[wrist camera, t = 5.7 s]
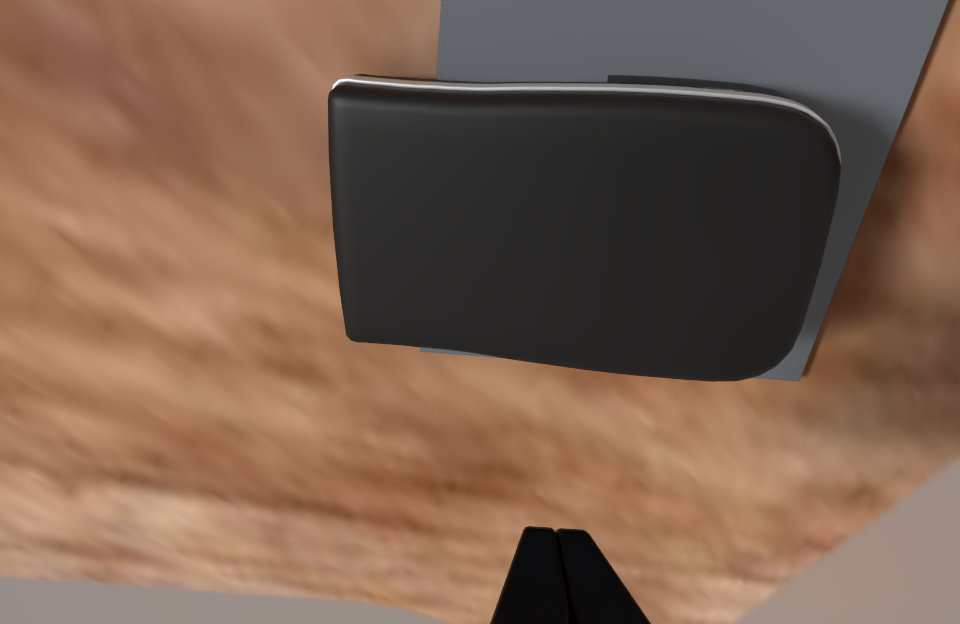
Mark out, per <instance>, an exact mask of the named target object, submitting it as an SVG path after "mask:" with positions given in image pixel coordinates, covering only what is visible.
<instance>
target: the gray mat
mask: <svg viewBox="0 0 960 624" xmlns="http://www.w3.org/2000/svg"><path fill="white" fill-rule="evenodd" d="M947 3H948V0H441V15H440V32H439V48H438V65H437V80H446V81H467V82H607V78H608V75H630V76H656V77H671V78H686V79H698V80H710V81H722V82H732V83H743V84H749V85H754V86H759V87H763V88H768V89H773V90H775V91H778V92H780V93H782V94H783V95H785V96H787V97H789V98H791V99H792V100H794V101H796V102H798V103H800V104H802V105H804V106H806V107H808V108H809V109H811V110H812V111H813V112H815V113H816V114H817V115H818V116H819V117H821V118H822V119H823V120H824V121H825V122H826V123H827V124H828V125H829V126H830V128H831V130H832V131H833V133H834V135H835V137H836V140H837V142H838V145H839V148H840V155H841V175H840V184H839V193H838V197H837V202H836V206H835V210H834V214H833V218H832V222H831V226H830V231H829V235H828V239H827V243H826V247H825V251H824V255H823V259H822V263H821V267H820V270H819V274H818V277H817V280H816V283H815V287H814V290H813V293H812V297H811V300H810V303H809V306H808V310H807V313H806V316H805V319H804V323H803V326H802V329H801V332H800V334H799V336H798V338H797V340H796V342H795V344H794V347H793V349H792V350H791V352H790V353H789V354H788V355H787V356H786V357H785V358H784V359H783V360H782V361H781V362H780V363H779V364H778V366H776V367H774V368H773V369H771V370H769V371H767V372H765V373H764V374H762V375H760V376H757V377H752V378H762V379H775V380H788V381H799V380H800V378H801V375H802V373H803V370H804V368H805V365H806V363H807V360H808V357H809V355H810V352H811V350H812V347H813V345H814V342H815V340H816V337H817V334H818V332H819V329H820V327H821V324H822V322H823V319H824V317H825V314H826V312H827V309H828V306H829V304H830V301H831V299H832V296H833V294H834V291H835V289H836V286H837V283H838V281H839V278H840V276H841V273H842V271H843V268H844V266H845V263H846V261H847V258H848V255H849V253H850V250H851V248H852V245H853V243H854V240H855V238H856V235H857V232H858V230H859V227H860V225H861V222H862V220H863V217H864V215H865V212H866V210H867V207H868V204H869V202H870V199H871V197H872V194H873V192H874V189H875V187H876V184H877V181H878V179H879V176H880V174H881V171H882V169H883V166H884V164H885V161H886V159H887V156H888V153H889V151H890V148H891V146H892V143H893V141H894V138H895V136H896V133H897V130H898V128H899V125H900V123H901V120H902V118H903V115H904V113H905V110H906V108H907V105H908V102H909V100H910V97H911V95H912V92H913V90H914V87H915V85H916V82H917V79H918V77H919V74H920V72H921V69H922V67H923V64H924V62H925V59H926V57H927V54H928V51H929V49H930V46H931V44H932V41H933V39H934V36H935V34H936V31H937V28H938V26H939V23H940V21H941V18H942V16H943V13H944V11H945V8H946V6H947ZM420 352H432V353H445V354H457V355H470V356H483V357H494V356H488V355H482V354H475V353H469V352H461V351H453V350H444V349H434V348H423V347H421V348H420ZM495 358H500V357H495Z"/></svg>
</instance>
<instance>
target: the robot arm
mask: <svg viewBox="0 0 960 624" xmlns="http://www.w3.org/2000/svg"><path fill="white" fill-rule="evenodd" d="M490 624H651V623H650V622H649V620H648V619H647V617H646V616H645V614H644V613H643V612H642V610H641V609H640V607H639V606H638V604H637V603H636V601H635V600H634V598H633V597H632V596H631V594H630V593H629V591H628V590H627V588H626V587H625V585H624V584H623V582H622V581H621V580H620V578H619V577H618V575H617V574H616V572H615V571H614V569H613V568H612V566H611V565H610V564H609V562H608V561H607V559H606V558H605V556H604V555H603V553H602V552H601V550H600V549H599V548H598V546H597V545H596V543H595V542H594V540H593V539H592V537H591V536H590V535H589V533H587V532H586V531H584V530H578V529H563V528H561V529H558V530H556V532H555V531H554V530H553V529H552V528H547V527H532V526H528V527H525V529H524V530H523V532H522V535H521V538H520V541H519V544H518V546H517V549H516V552H515V555H514V558H513V561H512V563H511V566H510V569H509V572H508V575H507V578H506V580H505V583H504V586H503V589H502V592H501V595H500V597H499V600H498V603H497V606H496V609H495V612H494V614H493V617H492V620H491V623H490Z"/></svg>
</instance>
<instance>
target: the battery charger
mask: <svg viewBox="0 0 960 624" xmlns="http://www.w3.org/2000/svg"><path fill="white" fill-rule="evenodd" d="M328 132H329V166H330V183H331V200H332V216H333V230H334V240H335V250H336V260H337V269H338V279H339V289H340V296H341V303H342V310H343V316H344V323H345V329H346V335H347V336H348V338H349V339H350V340H351V341H355V342H366V343H379V344H392V345H405V346H413V347H423V348H434V349H444V350H453V351H461V352H469V353H475V354H482V355H488V356H494V357H500V358H506V359H513V360H520V361H527V362H533V363H541V364H548V365H555V366H562V367H569V368H576V369H583V370H592V371H600V372H609V373H618V374H627V375H637V376H648V377H659V378H672V379H684V380H698V381H740V380H744V379H748V378H752V377H757V376H760V375H762V374H764V373H765V372H767V371H769V370H771V369H773V368H774V367H776V366H778V364H779V363H780V362H781V361H782V360H783V359H784V358H785V357H786V356H787V355H788V354H789V353H790V352H791V350H792V349H793V347H794V344H795V342H796V340H797V338H798V336H799V334H800V332H801V329H802V326H803V323H804V319H805V316H806V313H807V310H808V306H809V303H810V300H811V297H812V293H813V290H814V287H815V283H816V280H817V277H818V274H819V270H820V267H821V263H822V259H823V255H824V251H825V247H826V243H827V239H828V235H829V231H830V226H831V222H832V218H833V214H834V210H835V206H836V202H837V197H838V193H839V184H840V175H841V155H840V148H839V145H838V142H837V140H836V137H835V135H834V133H833V131H832V130H831V128H830V126H829V125H828V124H827V123H826V122H825V121H824V120H823V119H822V118H821V117H819V116H818V115H817V114H816V113H815V112H813V111H812V110H811V109H809V108H808V107H806V106H804V105H802V104H800V103H798V102H796V101H794V100H792V99H791V98H789V97H787V96H785V95H783V94H782V93H780V92H778V91H775V90H773V89H768V88H763V87H759V86H754V85H749V84H743V83H732V82H722V81H710V80H698V79H686V78H671V77H656V76H630V75H608V78H607V82H467V81H446V80H431V79H416V78H405V77H389V76H376V75H367V74H357V75H350V76H344V77H342V78H340V79H339V80H338V81H337V82H335V83H334V84H333V87H332V90H331V91H330V93H329V97H328Z"/></svg>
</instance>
